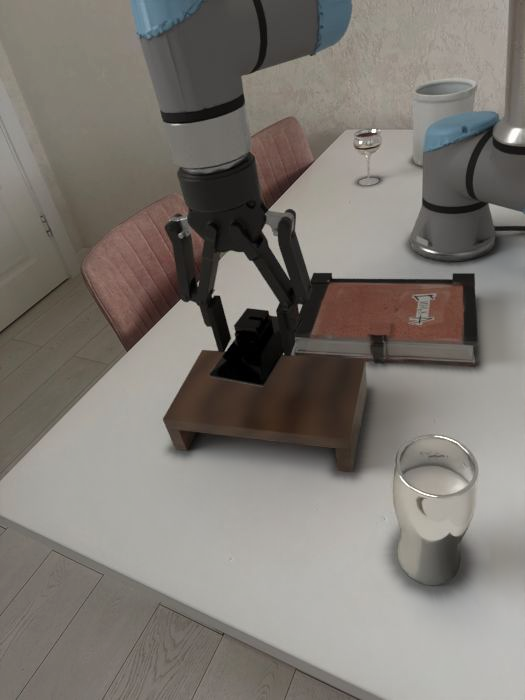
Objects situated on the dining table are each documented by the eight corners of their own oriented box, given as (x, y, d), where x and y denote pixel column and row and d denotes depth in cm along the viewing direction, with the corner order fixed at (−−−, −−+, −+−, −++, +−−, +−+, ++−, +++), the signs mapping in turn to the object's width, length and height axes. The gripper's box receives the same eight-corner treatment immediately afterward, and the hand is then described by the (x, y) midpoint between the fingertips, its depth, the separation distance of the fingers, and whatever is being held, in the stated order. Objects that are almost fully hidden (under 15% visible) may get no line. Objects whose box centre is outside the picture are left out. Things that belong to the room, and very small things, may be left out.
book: (294, 359, 78) (290, 334, 75) (316, 296, 91) (313, 272, 88) (474, 369, 70) (478, 342, 67) (471, 299, 82) (474, 273, 79)
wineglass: (386, 177, 128) (386, 128, 120) (376, 187, 124) (374, 137, 116) (361, 175, 131) (359, 128, 124) (350, 185, 127) (348, 137, 120)
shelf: (367, 391, 70) (365, 359, 66) (352, 472, 60) (349, 439, 56) (211, 379, 78) (202, 349, 74) (175, 449, 68) (162, 419, 64)
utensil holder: (478, 163, 125) (486, 86, 114) (417, 172, 126) (419, 98, 116) (460, 145, 136) (466, 74, 125) (405, 154, 138) (406, 84, 127)
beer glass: (384, 531, 54) (382, 439, 44) (449, 520, 53) (461, 425, 44) (404, 595, 48) (407, 507, 39) (476, 584, 48) (496, 492, 38)
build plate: (263, 387, 55) (255, 356, 52) (207, 377, 58) (197, 347, 56) (302, 321, 64) (298, 291, 61) (252, 315, 67) (245, 286, 64)
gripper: (330, 136, 46) (345, 331, 60) (137, 152, 53) (192, 325, 67) (313, 166, 41) (335, 373, 55) (101, 181, 47) (169, 361, 61)
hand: (256, 346), depth 61 cm, fingers closed on build plate, 8 cm apart
